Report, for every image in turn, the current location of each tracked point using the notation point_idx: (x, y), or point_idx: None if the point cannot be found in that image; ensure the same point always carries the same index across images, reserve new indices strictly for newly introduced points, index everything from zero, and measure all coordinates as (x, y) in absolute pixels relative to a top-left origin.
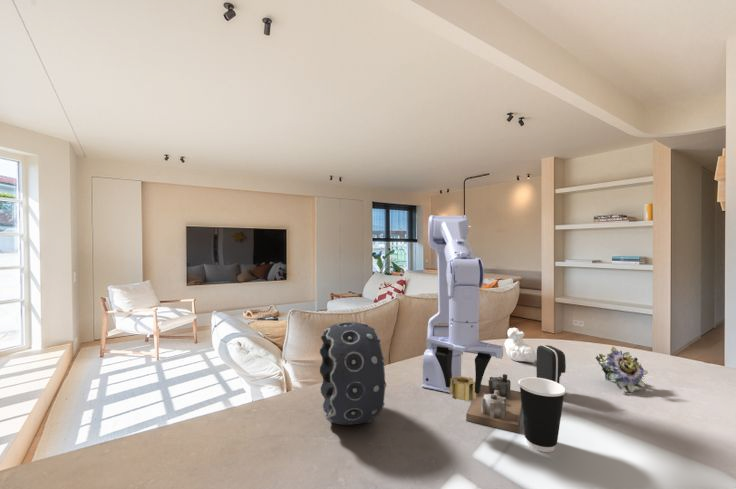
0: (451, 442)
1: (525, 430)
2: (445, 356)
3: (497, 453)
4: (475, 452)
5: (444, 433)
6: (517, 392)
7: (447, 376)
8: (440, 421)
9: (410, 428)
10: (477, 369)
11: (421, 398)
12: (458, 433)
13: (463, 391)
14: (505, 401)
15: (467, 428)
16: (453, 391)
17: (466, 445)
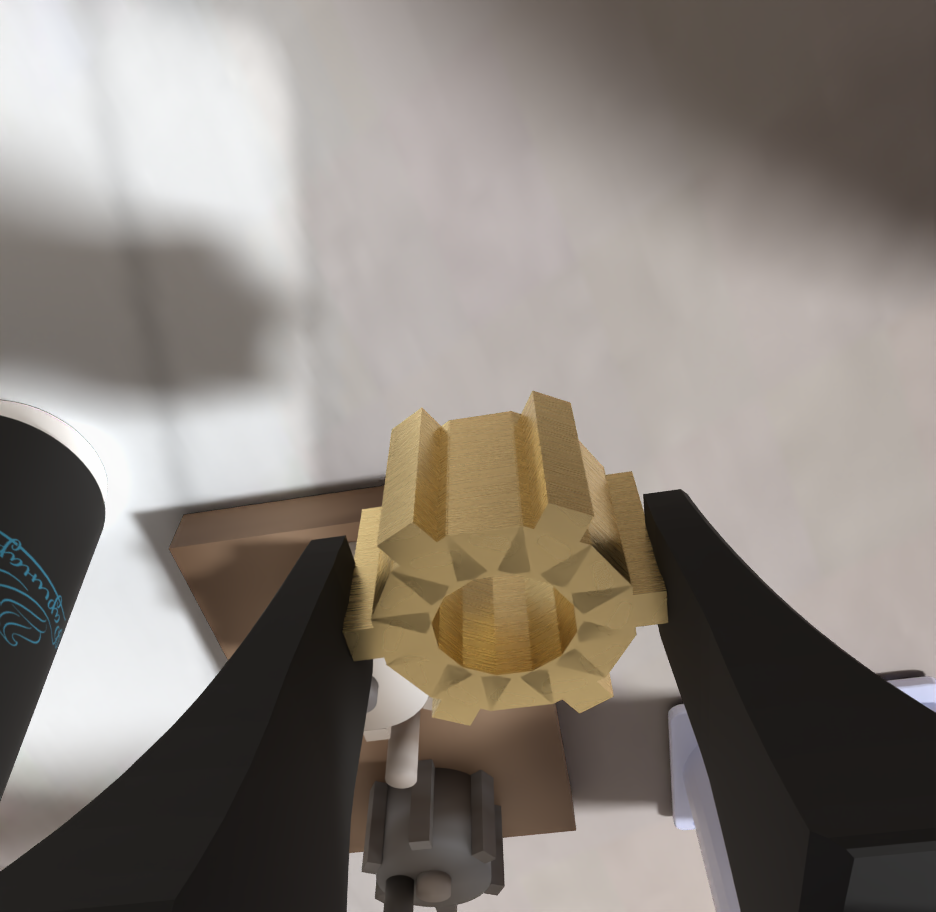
0: (493, 123)
1: (41, 475)
2: (835, 834)
3: (153, 203)
4: (279, 107)
5: (590, 216)
6: (354, 841)
7: (692, 571)
8: (676, 357)
9: (883, 104)
10: (218, 770)
11: (900, 557)
12: (496, 283)
13: (447, 478)
14: None
15: (468, 383)
16: (566, 444)
17: (377, 159)
